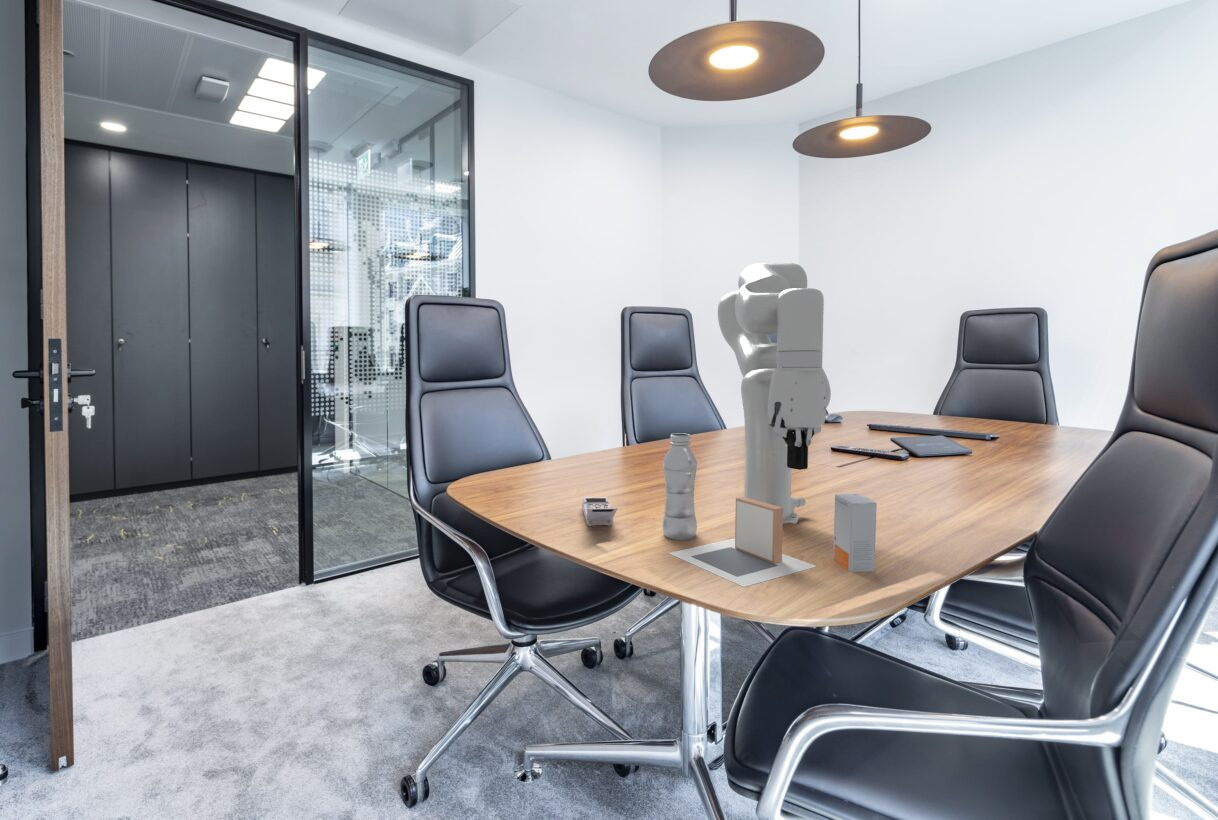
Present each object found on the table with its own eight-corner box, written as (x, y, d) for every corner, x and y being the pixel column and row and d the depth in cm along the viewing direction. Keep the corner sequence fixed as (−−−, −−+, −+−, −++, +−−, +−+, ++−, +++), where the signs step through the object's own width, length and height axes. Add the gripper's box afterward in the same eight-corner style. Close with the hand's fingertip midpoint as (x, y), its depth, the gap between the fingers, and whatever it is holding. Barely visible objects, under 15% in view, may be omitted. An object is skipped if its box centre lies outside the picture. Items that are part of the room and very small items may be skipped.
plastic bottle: (700, 536, 117) (701, 432, 115) (693, 547, 111) (693, 437, 109) (667, 533, 119) (667, 431, 118) (658, 544, 113) (658, 436, 111)
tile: (742, 546, 108) (743, 496, 107) (781, 561, 100) (783, 507, 100) (734, 548, 107) (735, 498, 106) (773, 563, 99) (774, 509, 99)
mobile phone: (587, 508, 117) (580, 480, 141) (587, 539, 117) (580, 505, 142) (618, 508, 117) (607, 480, 142) (618, 538, 118) (606, 505, 143)
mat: (737, 542, 114) (737, 537, 113) (816, 572, 98) (817, 565, 98) (668, 558, 105) (668, 552, 105) (743, 593, 90) (743, 586, 90)
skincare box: (831, 564, 102) (833, 493, 101) (856, 564, 102) (859, 493, 101) (849, 578, 96) (851, 502, 95) (875, 577, 96) (878, 502, 95)
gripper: (810, 362, 112) (808, 461, 114) (751, 362, 104) (750, 469, 106) (846, 362, 106) (843, 467, 107) (785, 362, 98) (783, 476, 100)
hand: (797, 468), depth 107 cm, fingers closed
